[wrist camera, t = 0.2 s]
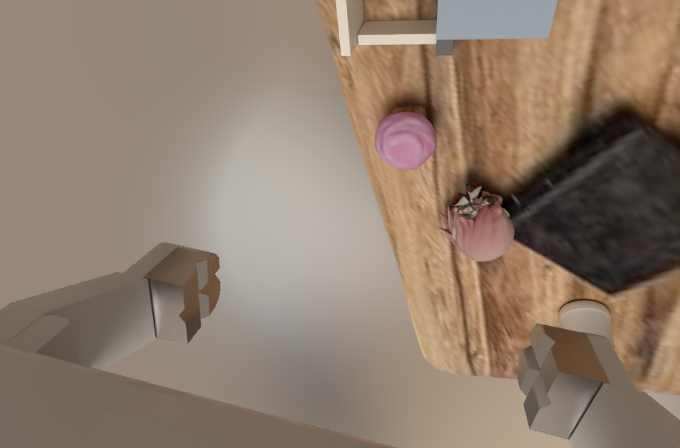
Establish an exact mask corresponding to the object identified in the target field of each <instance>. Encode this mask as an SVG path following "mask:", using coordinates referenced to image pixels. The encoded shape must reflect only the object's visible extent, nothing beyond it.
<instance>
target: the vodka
mask: <svg viewBox="0 0 680 448" xmlns="http://www.w3.org/2000/svg"><path fill="white" fill-rule="evenodd" d="M559 320H560V324H561V325H562V327H563V329H567V330H572V331H577V332H585V333H591V334H596V335H601V336H605V337H606V338H607V339H609V341H610V342H611V344H612V346H613V348H614V350H615V351H616V349H615V346H614V343H613V338H612V332H611V315H610V312H609V310H608V309H607V308H606V307H605V306H604V305H602V304H600V303H598V302H594V301H588V300H580V301H574V302H571V303H568V304H566V305H564V306H563V307H562V308H561V310H560V312H559ZM616 353H617V351H616Z"/></svg>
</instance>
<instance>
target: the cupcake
mask: <svg viewBox="0 0 680 448" xmlns="http://www.w3.org/2000/svg"><path fill="white" fill-rule="evenodd" d="M375 147H376V150H377V152H378V154H379V155H380V157H381V158H382V159H383V160H384V161H385V162H387V163H388V164H389V165H391V166H392V167H394V168H397V169H401V170H410V169H416V168H417V167H419V166H421V165H422V164H423V163H425V162H426V160H427V159H428V158H429V157H430V156H431V155H432V153H433V152H434V149H435V147H436V134H435V131H434V128H433V126H432V124H431V123H430V122H429V121H428V120H427V117H426V109H425V108H424V107H422V106H420V105H418V106H407V107H396V108H394V109H393V111H392V113H391V114H390V115H388V116H387V117H385V118H384V119H383V120H382V121H381V122H380V123H379V125H378V127H377V129H376V134H375Z"/></svg>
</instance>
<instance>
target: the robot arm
mask: <svg viewBox="0 0 680 448" xmlns="http://www.w3.org/2000/svg"><path fill="white" fill-rule="evenodd" d="M219 268H220V266H219V257H218V256H217V255H216V254H214V253H210V252H206V251H202V250H197V249H193V248H188V247H184V246H180V245H176V244H171V243H167V242H163V243H159V244H158V245H157V246H156V247H154V248H153V249H152V250H151V251H149V252H148V253H147V254H146V255H145V256H144V257H142V258H141V259H140V260H138V261H137V262H136V263H135V264H133V265H132V266H131V267H130V268H129V269H127V270H126V271H125V272H124V273H120V272H115V273H112V274H108V275H105V276H102V277H99V278H95V279H92V280H88V281H84V282H81V283H78V284H74V285H71V286H67V287H64V288H61V289H57V290H54V291H50V292H47V293H43V294H40V295H36V296H33V297H30V298H26V299H23V300H19V301H16V302H13V303H10V304H9V305H7V306H6V307H4V308H3V309H1V310H0V448H396V447H392V446H389V445H385V444H381V443H377V442H373V441H370V440H365V439H362V438H358V437H354V436H350V435H347V434H343V433H339V432H335V431H331V430H328V429H323V428H320V427H316V426H312V425H308V424H305V423H301V422H297V421H293V420H289V419H286V418H282V417H278V416H274V415H270V414H266V413H263V412H259V411H255V410H251V409H247V408H243V407H240V406H236V405H232V404H228V403H224V402H221V401H217V400H213V399H209V398H205V397H202V396H198V395H194V394H190V393H186V392H182V391H179V390H175V389H171V388H167V387H164V386H159V385H156V384H152V383H148V382H145V381H141V380H137V379H133V378H129V377H125V376H121V375H118V374H114V373H110V372H106V371H103V370H101V369H103V368H105V367H107V366H108V365H110V364H112V363H114V362H116V361H117V360H119V359H121V358H123V357H125V356H126V355H128V354H130V353H132V352H134V351H135V350H137V349H139V348H141V347H143V346H144V345H146V344H148V343H150V342H152V341H154V340H155V339H156V338H160V339H165V340H169V341H174V342H178V343H183V344H188V343H189V342H190V341H191V339H192V338H193V336H194V335H195V334H196V333H197V331H198V330H199V329H200V327H201V319H202V318H205V317H207V316H209V315H210V314H211V312H212V311H213V310H214V308H215V306H216V304H217V301H218V299H219V294H220V281H219V279H218V278H217V277H216V275H215V273H216V272H217V271H218V269H219ZM529 337H530V340H531V343H532V345H530V346H528V347H527V348H525V349H523V351H522V354H521V356H520V359H519V364H518V370H517V373H518V383H519V387H520V389H521V390H522V391H523V392H524V394H525V395H526V396H527V398H526V400H525V402H524V408H525V412H526V416H527V420H528V425H529V429H532V430H535V431H539V432H543V433H546V434H550V435H554V436H558V437H561V438H565V439H568V440H569V443H570V444H571V445H572V447H573V448H680V420H679V419H678V418H677V417H675V416H674V415H673V414H671V413H670V412H669V411H668V410H667V409H665V408H664V407H663V406H662V405H660V404H659V403H658V402H656V401H655V400H654V399H653V398H652V397H650V396H649V395H648V394H646V393H645V392H642V391H638V390H637V389H636V387H635V385H634V384H633V382H632V380H631V378H630V376H629V375H628V373H627V371H626V369H625V367H624V366H623V364H622V362H621V360H620V359H619V357H618V355H617V353H616V351H615V350H614V348H613V346H612V344H611V342H610V341H609V339H607V338H606V337H605V336H601V335H596V334H591V333H585V332H577V331H572V330H567V329H562V328H558V327H553V326H548V325H543V324H538V323H537V324H536V325H535V326H534V327H533V329H532V331H531V333H530V335H529Z"/></svg>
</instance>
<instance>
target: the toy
mask: <svg viewBox="0 0 680 448" xmlns="http://www.w3.org/2000/svg"><path fill="white" fill-rule="evenodd" d="M466 187H467V194H466V195H464V194H461V193H455V195H454V196H453V198H452V200H451V205H450V206H448V217H446V216H445V215H443V214H442V213H441V212H439V211H438V212H439V214H440V216H441V218H442V220H443V222H444V224H445V226H446V228H447V229H443V228H439V227H437V226H436V227H437V229H438V230H440V231H441V232H442V233H443V234H444V235H445V236H446V237H447V238H448V239H449V240H450V241H452V242H453V243H454V244H455V245H456V246H457V247H458V248H459V249H460V251H461V252H462V253H463V254H465V255H466V256H467V257H469V258H470V259H472V260H475V261H490V260H493V259H496V258H498V257H500V256H501V255H503V254H504V253H505V252H506V251H507V250H508V249H509V247H510V245H511V243H512V241H513V237H514V227H513V224H512V221H511V219H510V218H509V217H510V215H509V213H508V212H507V211H506V210H505V209H504V208H502V207H501V204H502V197H501V196H498V195H493V194H492V195H490V194H489V193H488V192H485V191H481V192H482V193H483V194H482V196H479V198H478V195H479V192H480V190H481V188H482V186H480V185H478V184H475V183H471V182H469V183H467V184H466ZM451 211H452V212H453V218H452V215H451Z"/></svg>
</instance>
